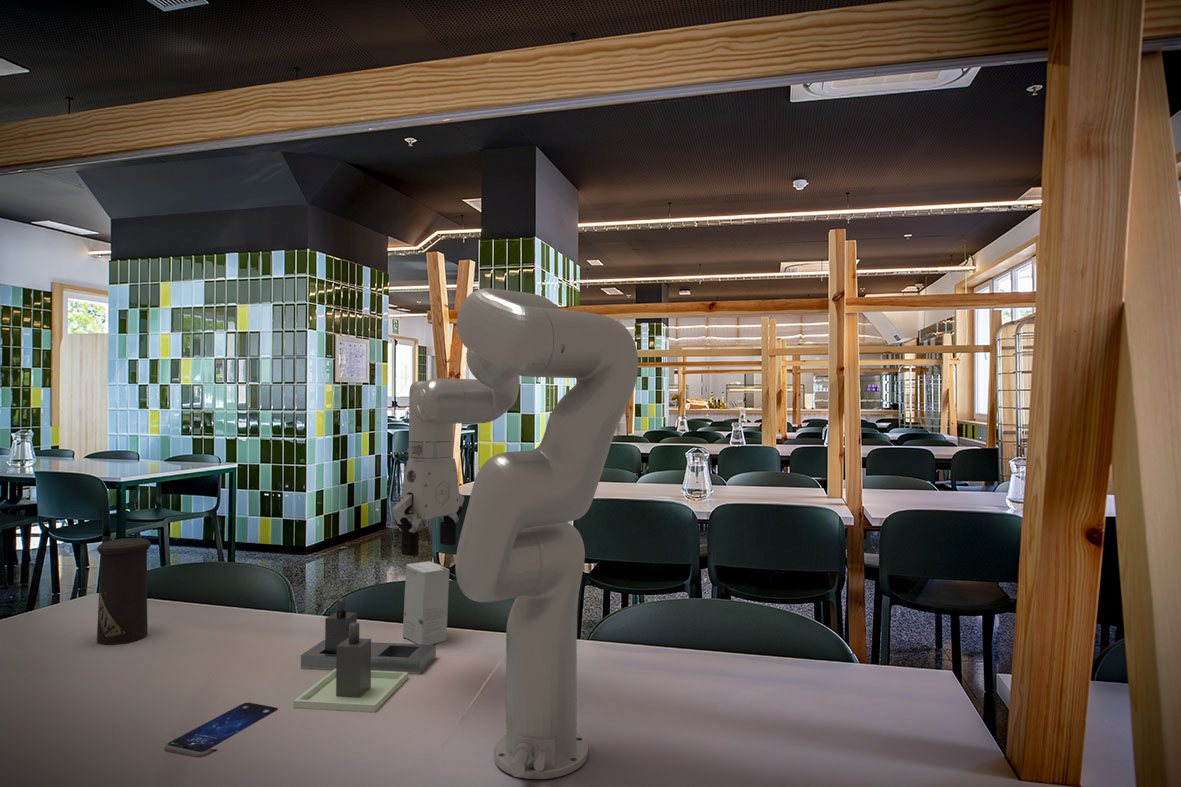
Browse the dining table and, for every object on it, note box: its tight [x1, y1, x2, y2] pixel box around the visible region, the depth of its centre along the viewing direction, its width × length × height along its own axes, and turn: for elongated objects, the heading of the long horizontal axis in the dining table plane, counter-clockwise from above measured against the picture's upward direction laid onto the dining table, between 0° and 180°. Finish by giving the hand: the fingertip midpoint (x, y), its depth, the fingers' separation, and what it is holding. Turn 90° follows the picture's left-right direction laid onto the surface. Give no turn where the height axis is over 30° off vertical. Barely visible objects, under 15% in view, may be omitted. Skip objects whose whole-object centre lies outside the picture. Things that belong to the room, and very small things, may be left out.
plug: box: [336, 621, 372, 698], centre depth 112 cm, size 4×4×11 cm
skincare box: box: [402, 560, 450, 645], centre depth 139 cm, size 8×6×15 cm
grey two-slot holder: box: [300, 597, 437, 675], centre depth 125 cm, size 8×22×12 cm, turn 83°
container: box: [96, 537, 152, 645], centre depth 139 cm, size 9×9×20 cm
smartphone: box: [164, 702, 279, 758], centre depth 100 cm, size 7×1×15 cm
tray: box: [292, 669, 409, 713], centre depth 112 cm, size 13×13×2 cm
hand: (429, 549), depth 120 cm, fingers open, 9 cm apart
